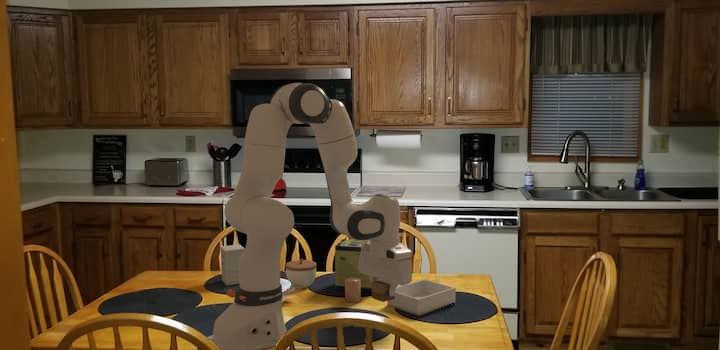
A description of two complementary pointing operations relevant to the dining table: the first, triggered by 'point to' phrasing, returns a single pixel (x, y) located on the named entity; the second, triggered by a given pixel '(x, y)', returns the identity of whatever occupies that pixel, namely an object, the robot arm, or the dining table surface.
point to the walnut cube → (381, 290)
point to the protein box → (350, 264)
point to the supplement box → (231, 263)
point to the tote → (422, 297)
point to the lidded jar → (301, 272)
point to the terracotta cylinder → (352, 290)
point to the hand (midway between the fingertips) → (383, 293)
